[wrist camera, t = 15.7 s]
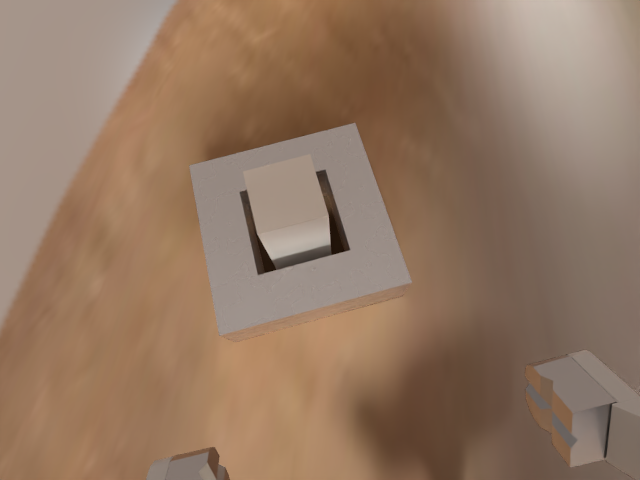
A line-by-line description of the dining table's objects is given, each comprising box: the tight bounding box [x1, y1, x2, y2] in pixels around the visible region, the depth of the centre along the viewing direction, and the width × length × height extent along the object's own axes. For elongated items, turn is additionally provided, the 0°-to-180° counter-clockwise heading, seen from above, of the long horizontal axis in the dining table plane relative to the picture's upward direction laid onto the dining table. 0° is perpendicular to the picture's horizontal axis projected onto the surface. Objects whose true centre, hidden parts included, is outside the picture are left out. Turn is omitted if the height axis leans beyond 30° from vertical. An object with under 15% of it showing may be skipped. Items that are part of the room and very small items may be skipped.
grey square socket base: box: [189, 123, 412, 342], centre depth 28 cm, size 12×12×4 cm
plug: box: [243, 154, 331, 270], centre depth 26 cm, size 4×4×8 cm
